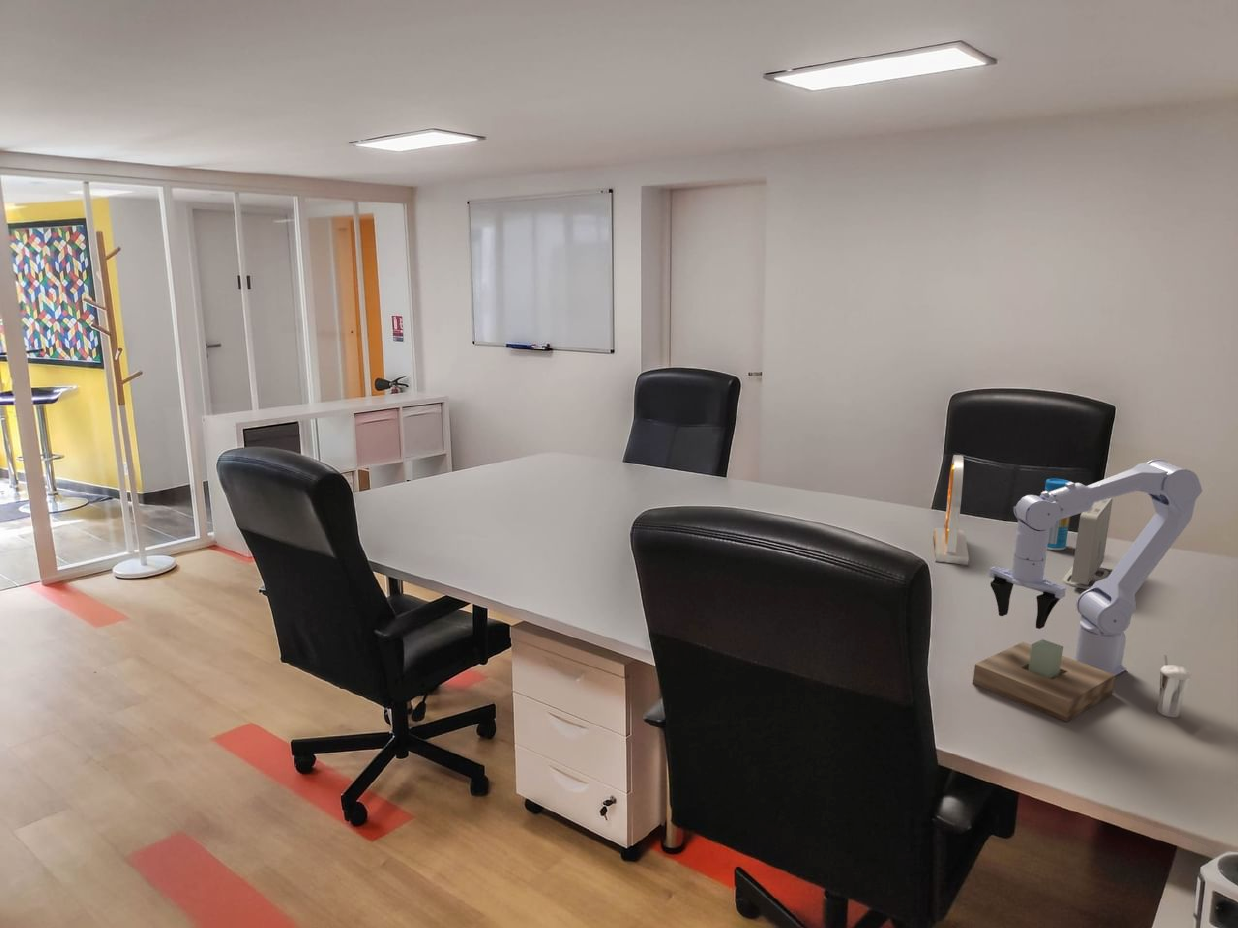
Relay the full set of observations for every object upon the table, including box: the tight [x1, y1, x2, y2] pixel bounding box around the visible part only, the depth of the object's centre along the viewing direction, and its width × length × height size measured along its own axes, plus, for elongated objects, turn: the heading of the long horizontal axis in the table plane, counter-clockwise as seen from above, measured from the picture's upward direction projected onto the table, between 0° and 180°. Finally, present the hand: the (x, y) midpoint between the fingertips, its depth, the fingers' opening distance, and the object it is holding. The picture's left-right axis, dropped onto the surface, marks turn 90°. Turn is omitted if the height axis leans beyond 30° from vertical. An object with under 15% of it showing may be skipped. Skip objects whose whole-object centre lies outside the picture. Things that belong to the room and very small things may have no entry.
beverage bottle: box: [1044, 478, 1072, 551], centre depth 250 cm, size 8×8×20 cm
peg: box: [1028, 638, 1064, 679], centre depth 163 cm, size 4×4×8 cm
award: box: [932, 454, 970, 566], centre depth 245 cm, size 28×9×28 cm, turn 161°
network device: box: [1062, 497, 1113, 590], centre depth 224 cm, size 26×9×20 cm, turn 143°
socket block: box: [972, 641, 1116, 723], centre depth 163 cm, size 18×18×4 cm
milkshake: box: [1157, 654, 1191, 719], centre depth 155 cm, size 4×5×10 cm
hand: (1021, 620), depth 171 cm, fingers open, 7 cm apart
